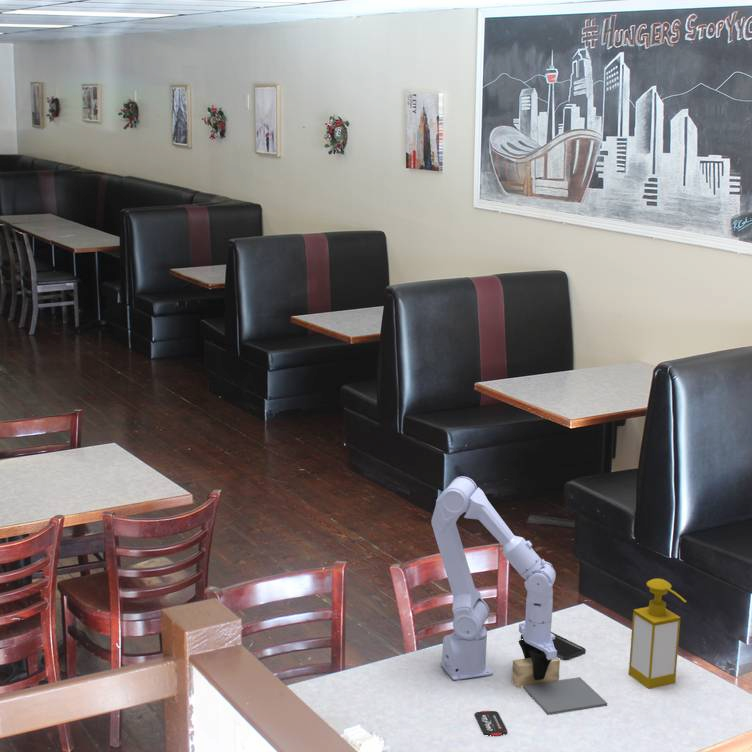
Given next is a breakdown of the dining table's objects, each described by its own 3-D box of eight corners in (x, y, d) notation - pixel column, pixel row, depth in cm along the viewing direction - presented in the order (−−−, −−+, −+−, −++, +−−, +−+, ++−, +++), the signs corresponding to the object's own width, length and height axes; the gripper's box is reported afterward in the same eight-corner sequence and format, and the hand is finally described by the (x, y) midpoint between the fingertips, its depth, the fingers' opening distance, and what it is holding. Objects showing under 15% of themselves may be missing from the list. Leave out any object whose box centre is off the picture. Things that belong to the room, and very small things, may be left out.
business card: (508, 733, 220) (484, 735, 219) (508, 736, 220) (484, 738, 219) (496, 710, 229) (473, 711, 228) (496, 713, 229) (473, 714, 229)
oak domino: (517, 687, 240) (518, 666, 239) (511, 681, 242) (512, 660, 241) (558, 681, 243) (559, 660, 242) (552, 675, 246) (553, 654, 245)
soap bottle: (664, 700, 235) (673, 597, 230) (628, 674, 247) (635, 576, 242) (691, 694, 238) (700, 592, 233) (654, 668, 249) (662, 571, 245)
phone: (541, 627, 268) (587, 649, 257) (541, 631, 268) (587, 654, 257) (518, 635, 264) (564, 658, 252) (518, 639, 264) (564, 663, 252)
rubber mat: (547, 714, 228) (548, 712, 228) (522, 687, 240) (522, 685, 239) (607, 705, 233) (607, 703, 233) (579, 679, 244) (579, 677, 244)
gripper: (570, 629, 234) (567, 688, 237) (540, 602, 247) (537, 658, 250) (540, 633, 232) (537, 692, 235) (511, 606, 245) (508, 662, 248)
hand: (535, 675), depth 242 cm, fingers closed on oak domino, 3 cm apart
